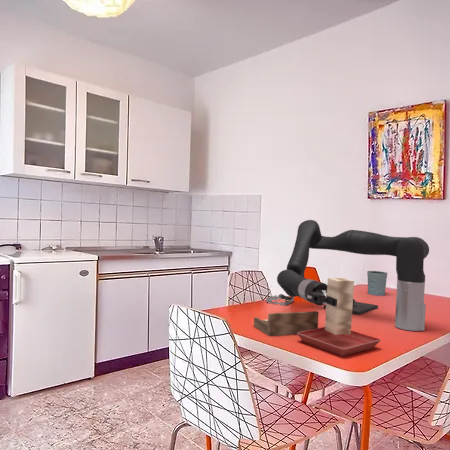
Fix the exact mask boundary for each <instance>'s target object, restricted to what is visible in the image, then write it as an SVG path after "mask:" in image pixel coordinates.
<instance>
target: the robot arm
mask: <svg viewBox="0 0 450 450" xmlns="http://www.w3.org/2000/svg"><path fill="white" fill-rule="evenodd" d="M310 249H313V250H314V249H315V250H330V251H339V252H345V253H352V254H359V255H366V256H367V255H370V256H391V257H395V258H396V260H395V261H396V262H395V271H396V275H397V277H396V278H397V281H396V294H395V295H396V298H395V300H396V301H395V315H394V316H395V318H394V327H396V328H398V329H401V330H404V331H411V332H412V331H413V332H420V331H422V332H424V331H425V327H426V326H425V323H426V305H427V304H426V303H425V288H426V287H425V286H426V275H425V271H424V261H425V259H426V258H427V257H428V255H429V254H430V246H429V244H428V243H427V242H426V241H425V240H424V239H422V238H421V237H417V236H406V237H403V236H402V237H401V236H389V235H384V234H380V233H377V232H376V233H375V232H370V231H366V230H358V229H350V230H345V231H344V232H343V231H342V232H341V233H339V234H337V235H336V236H325V235H322V232H321V228H320V225H319V223H318V221H316V220H313V219H307V220H303V221H302V222H301V223H300V224H299V225H298V227H297V233H296V237H295V243H294V245H293V250H292V253H291V256H290V258H289V260H288V263H287V265H286V269H284V270H282V271H280V272H279V273H278V274H277V276H276V282H277V283H278V285H279V287H281V289H282V290H283V291H284V292H285V293H286V295H287V296H289V297H299V298H301V299H303V300H305V301H306V302H309V303H311V304H314V305H316V306H324V305H326V304H329V305H332V306H337V299H335V298H332V297H328V296H327V284H328V283H324V282H321V281H319V280H315V279H310V278H306V277H305V271H306V268H307V267H308V262H309V257H310ZM354 300H355V298H353V306H354Z"/></svg>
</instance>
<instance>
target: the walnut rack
mask: <svg viewBox="0 0 450 450" xmlns="http://www.w3.org/2000/svg"><path fill="white" fill-rule="evenodd" d="M267 316H268V317H267V319H268V323H266V322H264V321H263V320H264V319H261V318H259V317H257V316H256V317H253V327H254V328H256V329H257V330H259V331H260V332H262V333H263V334H265V335H267V336H268V337H270V336H271V337H276V336H277V337H278V336H289V335H291V334H294V335H298V334H297V333H298V332H302V331H307V330H312V329H317V328H318V327H319V311H317V310H316V311H314V310H313V311H296V312H293V311H291V312H270V313H268V315H267Z"/></svg>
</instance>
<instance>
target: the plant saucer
mask: <svg viewBox="0 0 450 450" xmlns="http://www.w3.org/2000/svg"><path fill="white" fill-rule="evenodd" d="M296 335H297V336H298V337H299V338H300V339H301V341H302V342H303V343H305V344H307V343H308V344H307V345H311V346H314V347H317V348H319V349H321V350H323V351H327V352H330V353H333V354H335V355H338V356H341V357H346V356H348V355H352V354H357V353H359V352H363V351H368V350H371V349H373V348H374V347H376V346H377V345H378V343H380V342H381V338H378V337H374V336H371V335H368V334H365V333H361V332H358V331H355V330H352V329H351V334H342V335H335V334H332V333H330V332H328V331H326V330H325V326H323V327H319V328H317V329H312V330H307V331H302V332H298V333H297V334H296Z"/></svg>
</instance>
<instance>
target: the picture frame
mask: <svg viewBox="0 0 450 450" xmlns="http://www.w3.org/2000/svg"><path fill="white" fill-rule="evenodd" d="M323 309H325V310H326V304H324V305H323ZM377 309H379V305H376V304H371V303H366V302H359V301H356V300H355V299H354V306H353V307H352V315H355V316H360V315H361V316H362V315H363V314H366V313H369V312H372V311H374V310H377Z"/></svg>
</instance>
